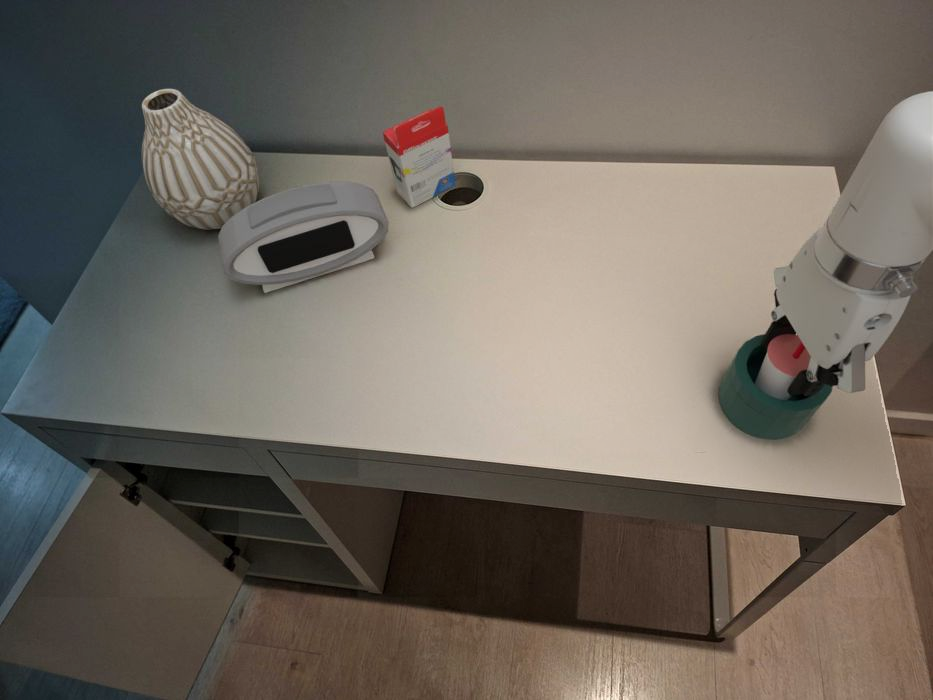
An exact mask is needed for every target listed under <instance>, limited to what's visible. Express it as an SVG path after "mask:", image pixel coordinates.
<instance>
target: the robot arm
mask: <svg viewBox="0 0 933 700" xmlns="http://www.w3.org/2000/svg"><path fill="white" fill-rule="evenodd" d="M932 252H933V90H932V91H924V92H920V93H916V94H913V95H911V96H909V97H907V98H905V99H903V100H901V101H900V102H898V103H897V104H895V106H893V107H892V108H891V109H890V110H889V111H888V113H887V114H886V115H885V116H884V118H883V120H882V121H881V123H880V124H879V126H878V127H877V129H876V131H875V133H874V135H873V137H872V138H871V140H870V141H869V144H868V145H867V147H866V149H865V151H864V152H863V154H862V156H861V158H860V160H859V161H858V163H857V165H856V168H854V170H853V172H852V174H851V176H850V177H849V179H848V181H847V183H846V185H845V187H844V188H843V190H842V192H841V193H840V196H839V197H838V199H837V201H836V203H835V204H834V206H833V208H832V210H831V211H830V213H829V215H828V216H827V218H826V220H825V222H824V224H823V226H822V227H820V228H818V229H817V231H815V232H814V233H813V234H812V235H811V236H810V237H809V238H808V239H807V240H806V242H804V244H803V245H802V246H801V247H800V248H799V250H798V251H797V252H796V254H795V255H794V256H793V258H792V259H791V260H790V263H789V264H788V265H784V266H780V267H775V268H774V269H773V276H774V277H773V278H774V285H775V288H776V289H775V290H774V293H773V296H774V304H775V306H774V307H775V308H773V309H772V310H771V311H770V316H771V319H772V322H771V323H770V325H769V326H768V328H767V330H766V332H765V333H764V334H765V335H764V337H763V339H762V341H761V345H762V346H763V347H765V348H768V345H769V343H770V342H771V340H773V339H774V338H775V337H777V336H780V335H785V334H795V335H798V337H799V338H800V340H801V341H802V343H803V345H804V346H805V348H806V349H807V351H808V353H809V354H810V356H811V357H810V361H809V364H808V368H807V370H802V371H800V372H799V373H798V375H797V376H796V378H795V379H794V380H793V382H792V383H791V385H790V386H789V387H788V390H787V391H788V393H789V395H790V396H793V395H798V394H804V396H809V395H814V394H816V393H818V392H819V391H820V390H821V389H822V388H823V386H824V385H825V384H826V385H829V386H833V387H837V389H838V390H841V391H843V392H845V393H847V394H854V393H859V392H864V391H865V390H866V362H869V361H870V360H872V359H873V358H874V356H875V355H876V354H877V353H878V352H879V351H880V349H881V348H882V347H883V345H884V344H885V343H886V341H888V338H889V337H890V336H891V334H892V333H893V331H894V330H895V327H896V326H897V325H898V323H899V322H900V319H901V318H902V317H903V314H904V313H905V311H906V308H907V306H908V303H909V302H910V299H911V296H913V294H915V293H916V292H918V290H919V287H918V285H917V284H916V283H915V277H914V276H915V274H916V273H917V272H918V271H919V270H920V268H921V267H922V266H923V263H924V262H925V261H926V259H927V258H928V257H929V256H930V254H931V253H932Z"/></svg>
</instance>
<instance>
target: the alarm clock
mask: <svg viewBox="0 0 933 700" xmlns="http://www.w3.org/2000/svg"><path fill="white" fill-rule="evenodd" d="M388 232H389V220H388V218H387V215H386V213H385V210H384V208H383V204H382V203H381V200H380V198H379V195H378V194H377V193H376V191H375V190H374V189H373V188H371V187H369V186H367V185H366V184H363V183H359V182H353V181H326V182H318V183H311V184H310V183H309V184H306V185H301V186H297V187H294V188H289V189H285V190H282V191H279V192H277V193H274V194H271V195H269V196H266V197H264V198H262V199H260V200H256V201H255V203H253V204H251V205H249V206H247V207H246V208H244V209H243V210H241V211H240V212H238V213H237V214H235V215H234V216H232V217H231V218H230V219H229V220H228V221H227V222H226V223H225V224H224V225H223V226H222V228H220V231H219V233H218V235H217V238H218V245H219V250H220V257H221V264H222V270H223V274H224V275H225V276H226V277H228V279H230V280H231V281H233V282H237V283H240V284H244V285H254V286H255V285H256V286H262V291H263V292H264V294H267V293H270V292H273V291H276V290H280V289H282V288H285V287H286V288H287V287H288V286H292V285H295V284H299V283H301V282H304V281H308V280H310V279H314V278H318V277H320V276H323V275H326V274H327V275H328V274H330V273H333V272H336V271H340V270H343V269H346V268H348V267H353V266H356V265H358V264H361V263H364V262H368V261H371V260H374V259H375V258H376V257H375V255H374V252H373V249H375V247H376V246H378V244H380V242H382V241H383V240H384V238H385V236H386V235H387V234H388Z"/></svg>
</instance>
